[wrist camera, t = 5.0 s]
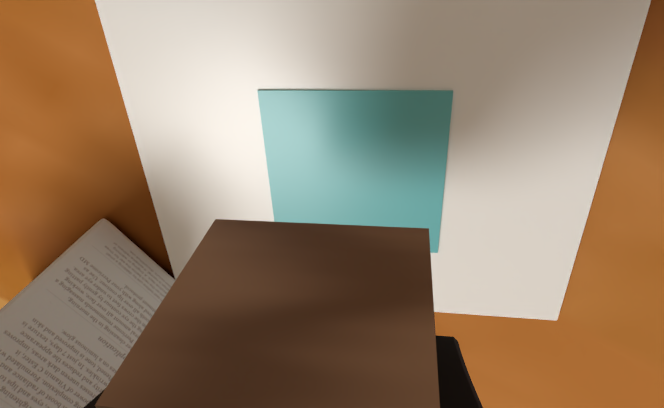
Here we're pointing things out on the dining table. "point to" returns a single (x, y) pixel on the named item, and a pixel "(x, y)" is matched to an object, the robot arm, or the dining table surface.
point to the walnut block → (290, 322)
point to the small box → (78, 321)
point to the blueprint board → (384, 125)
